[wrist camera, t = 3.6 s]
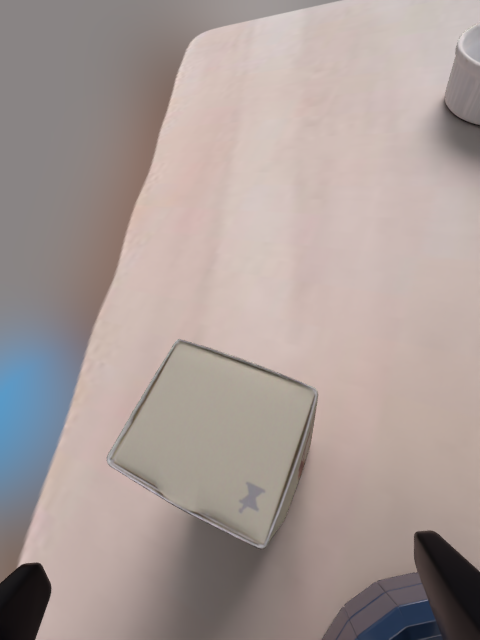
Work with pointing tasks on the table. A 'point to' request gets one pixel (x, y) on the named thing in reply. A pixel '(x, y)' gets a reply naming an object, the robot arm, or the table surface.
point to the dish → (387, 613)
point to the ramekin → (466, 77)
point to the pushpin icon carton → (220, 440)
